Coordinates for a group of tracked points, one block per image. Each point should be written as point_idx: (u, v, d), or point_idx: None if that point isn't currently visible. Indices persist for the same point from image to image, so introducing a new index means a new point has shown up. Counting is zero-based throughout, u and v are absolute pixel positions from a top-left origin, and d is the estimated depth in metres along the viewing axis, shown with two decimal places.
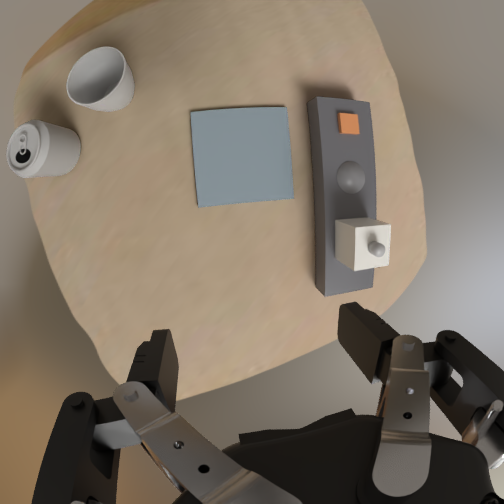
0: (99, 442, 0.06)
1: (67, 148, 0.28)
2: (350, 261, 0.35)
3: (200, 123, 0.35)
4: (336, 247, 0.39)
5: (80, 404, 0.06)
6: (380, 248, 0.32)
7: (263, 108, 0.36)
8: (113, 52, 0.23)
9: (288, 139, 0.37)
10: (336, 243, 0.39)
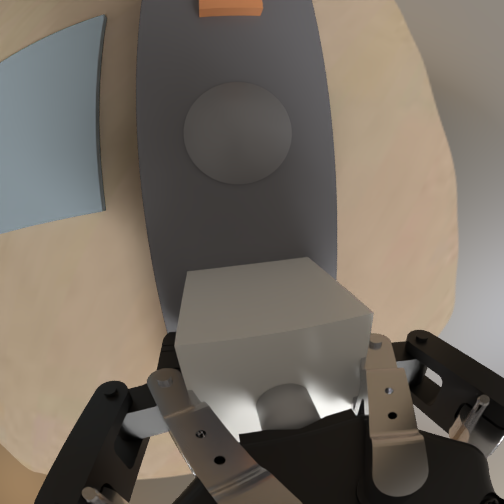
0: (127, 432, 0.07)
1: None
2: None
3: None
4: None
5: (114, 392, 0.07)
6: None
7: (60, 32, 0.10)
8: None
9: (94, 73, 0.12)
10: None
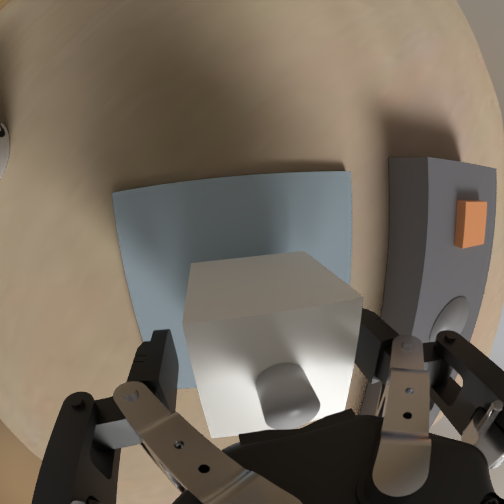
0: (99, 442, 0.06)
1: None
2: None
3: (137, 222, 0.14)
4: None
5: (80, 404, 0.06)
6: (294, 406, 0.07)
7: (296, 175, 0.15)
8: None
9: (348, 251, 0.17)
10: None
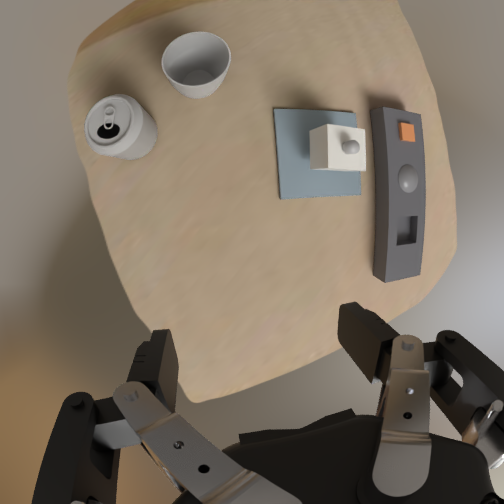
0: (99, 442, 0.06)
1: (151, 130, 0.31)
2: (324, 160, 0.33)
3: (283, 120, 0.37)
4: (311, 157, 0.37)
5: (80, 404, 0.06)
6: (353, 144, 0.30)
7: (337, 112, 0.38)
8: (211, 39, 0.25)
9: None
10: (310, 153, 0.37)
